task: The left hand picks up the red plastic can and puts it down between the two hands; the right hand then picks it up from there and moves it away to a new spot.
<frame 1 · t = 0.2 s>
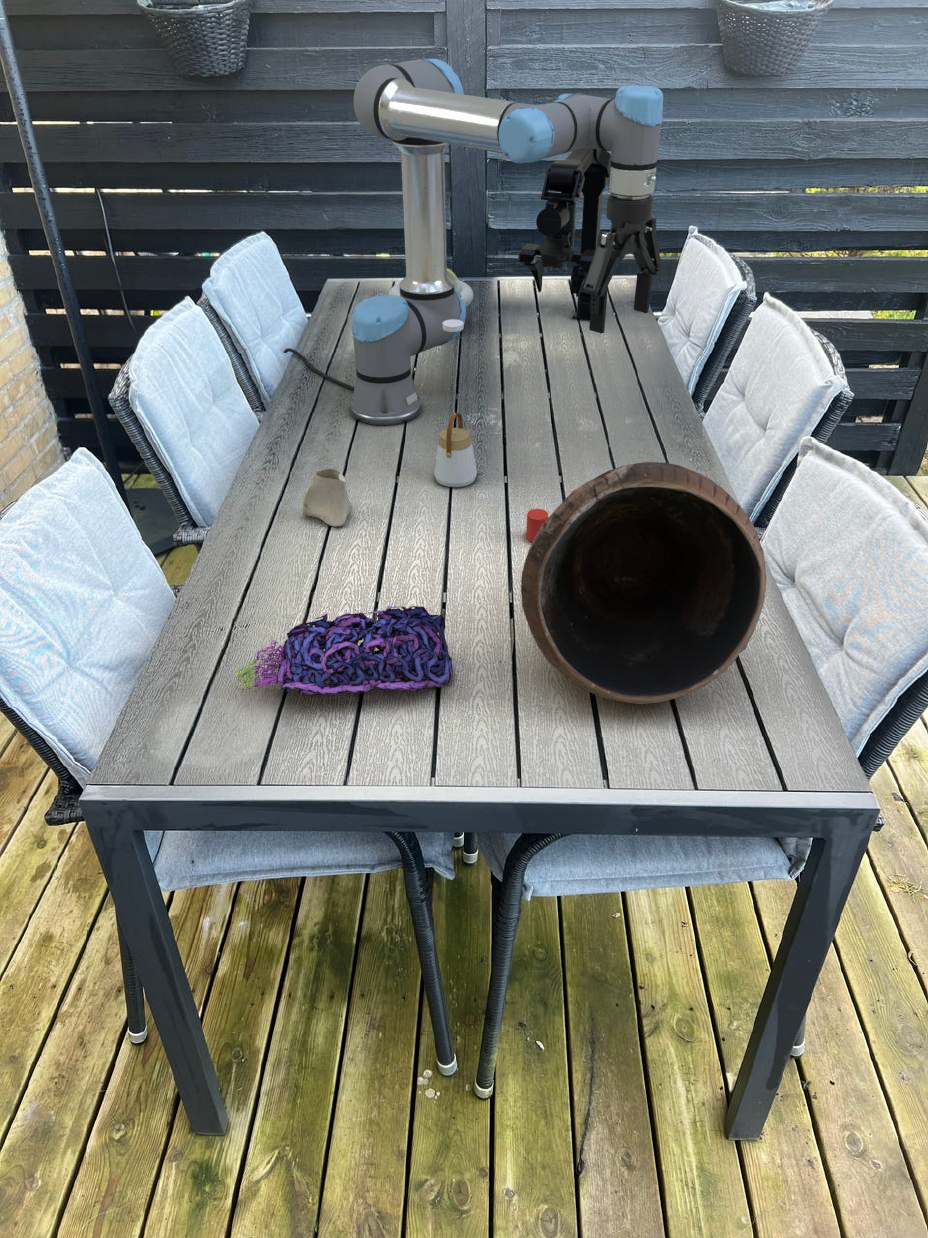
left hand: (619, 321, 167), 28 cm above the table, tool pointing down, fingers open, 13 cm apart
right hand: (558, 293, 219), 15 cm above the table, tool pointing down, fingers open, 9 cm apart
pendant light: (455, 478, 178), on the table
decorative ornament: (347, 685, 131), on the table
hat: (431, 325, 244), on the table
pot: (629, 645, 138), on the table
bone: (327, 519, 167), on the table
can: (536, 537, 161), on the table
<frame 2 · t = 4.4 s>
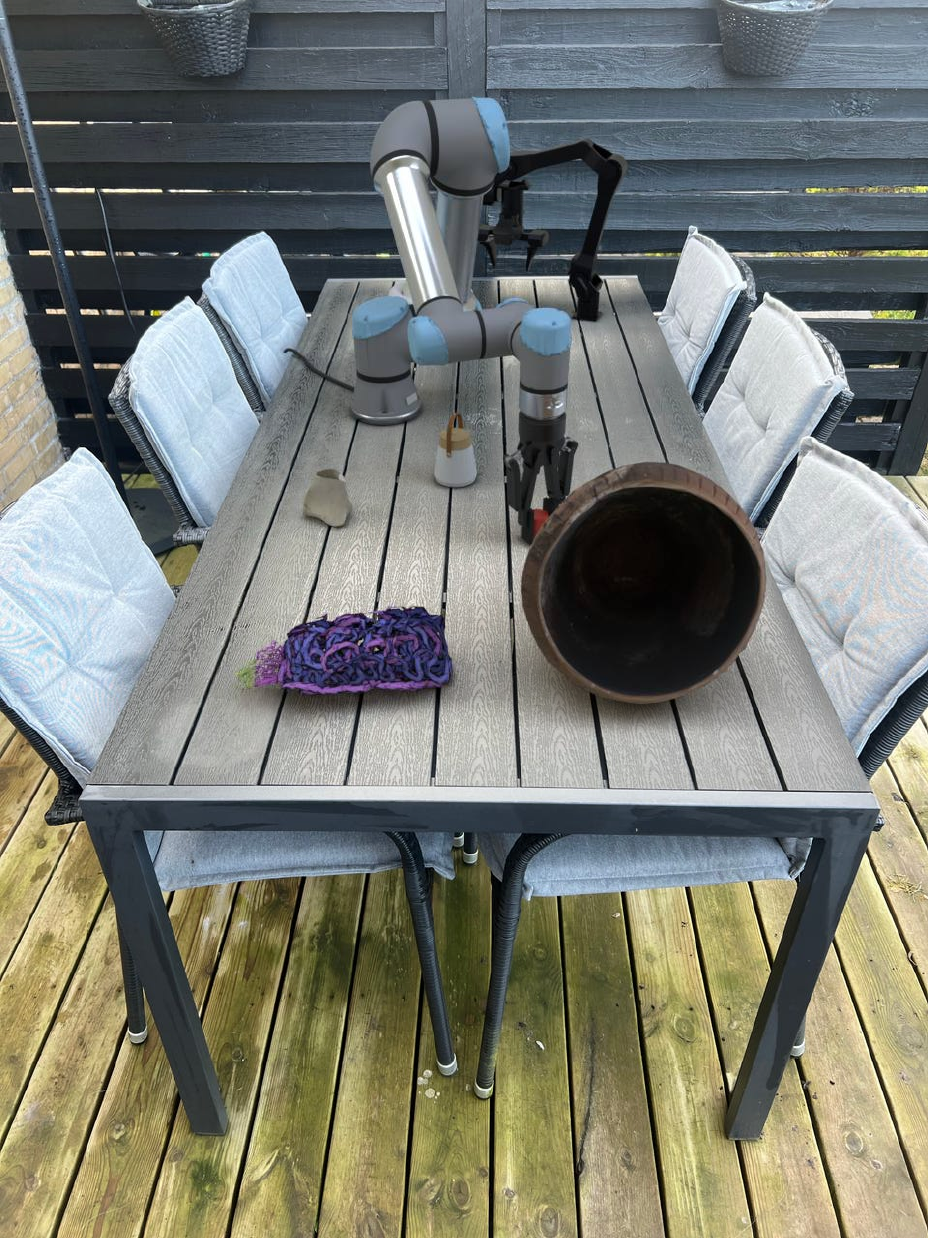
left hand: (537, 536, 161), 0 cm above the table, tool pointing down, fingers closed on can, 4 cm apart
right hand: (510, 269, 247), 10 cm above the table, tool pointing down, fingers open, 9 cm apart
can: (536, 537, 161), on the table, touching left hand
everything else where it was.
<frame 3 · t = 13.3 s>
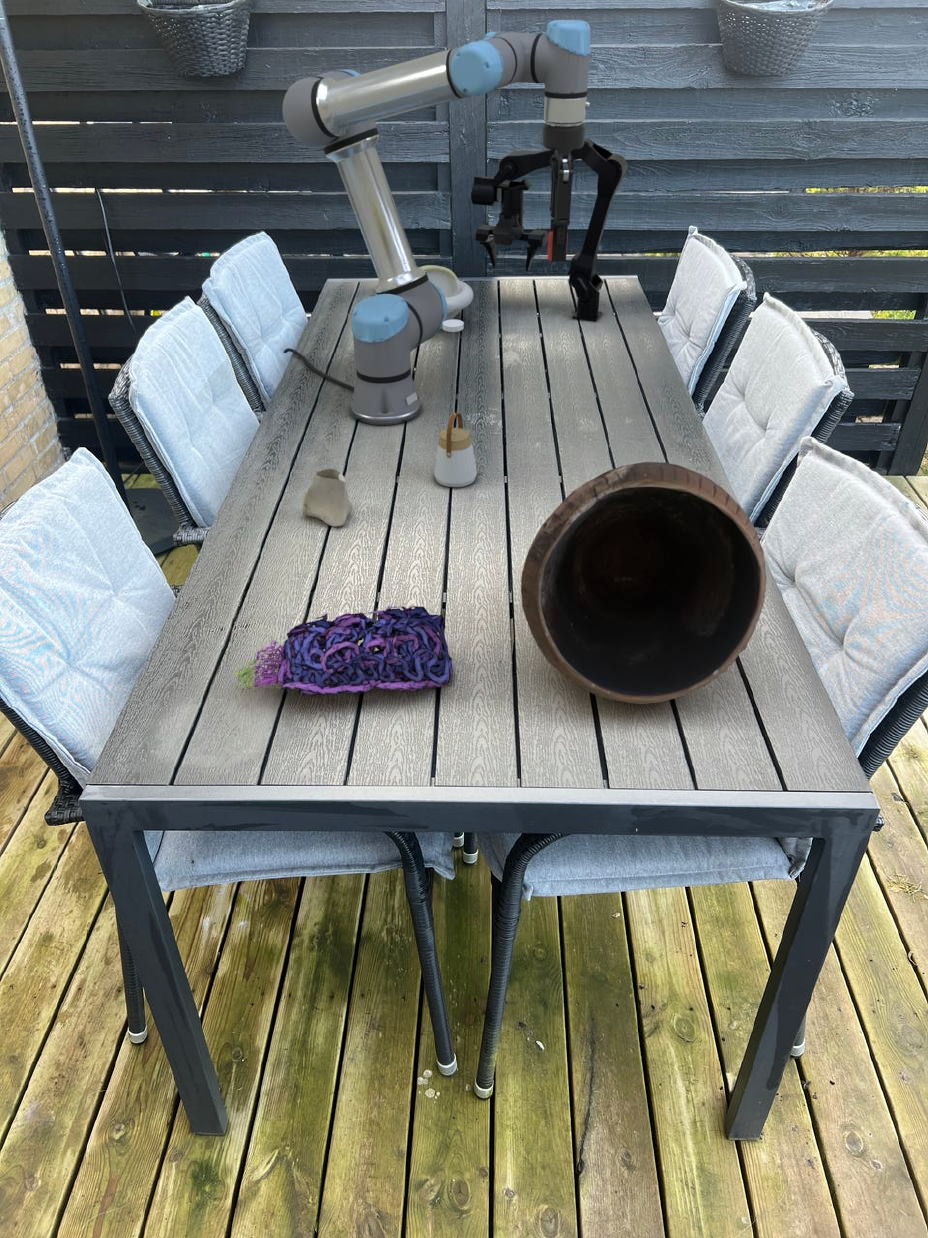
left hand: (557, 257, 181), 33 cm above the table, tool pointing down, fingers closed on can, 4 cm apart
right hand: (510, 269, 247), 10 cm above the table, tool pointing down, fingers open, 9 cm apart
can: (556, 258, 181), point 33 cm above the table, touching left hand
everything else where it was.
when the left hand's fingers open (1 cm above the table, at t = 22.7 s): can stays where it is, on the table.
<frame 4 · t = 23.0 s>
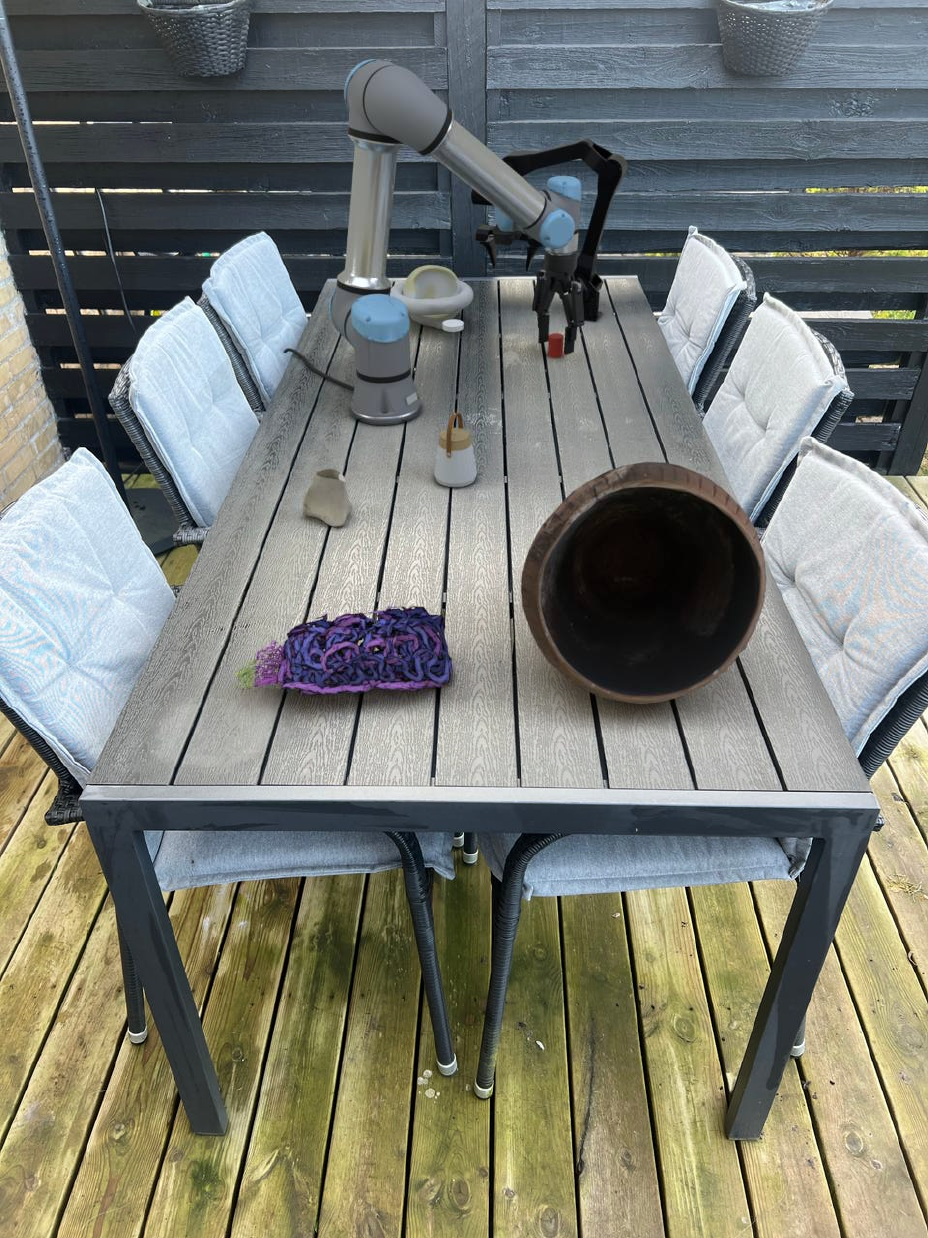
left hand: (555, 347, 226), 2 cm above the table, tool pointing down, fingers open, 8 cm apart
right hand: (510, 269, 247), 10 cm above the table, tool pointing down, fingers open, 9 cm apart
can: (555, 354, 227), on the table
everything else where it was.
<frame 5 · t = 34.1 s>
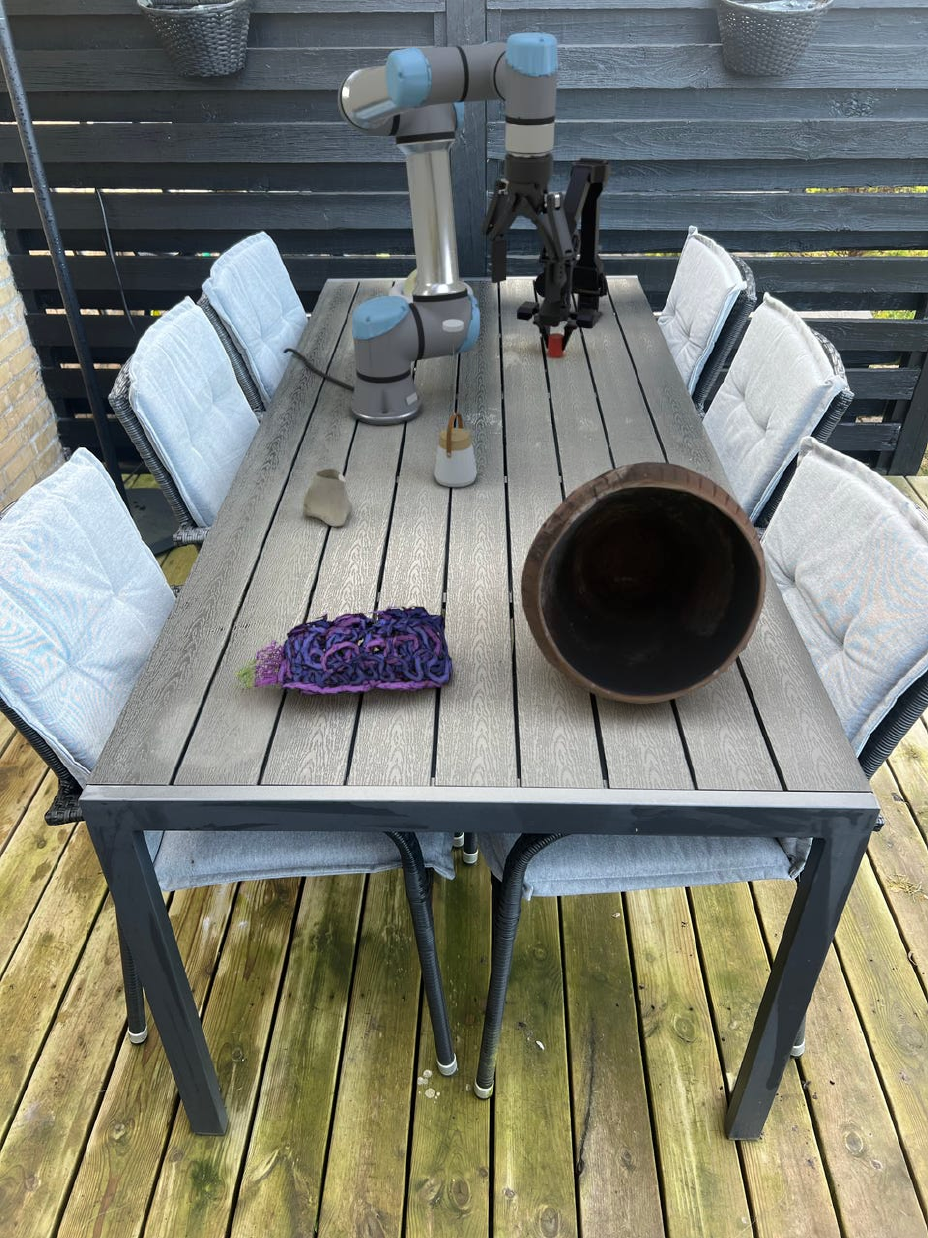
left hand: (524, 291, 156), 36 cm above the table, tool pointing down, fingers open, 13 cm apart
right hand: (555, 349, 226), 1 cm above the table, tool pointing down, fingers closed on can, 4 cm apart
can: (555, 354, 227), on the table, touching right hand
everything else where it was.
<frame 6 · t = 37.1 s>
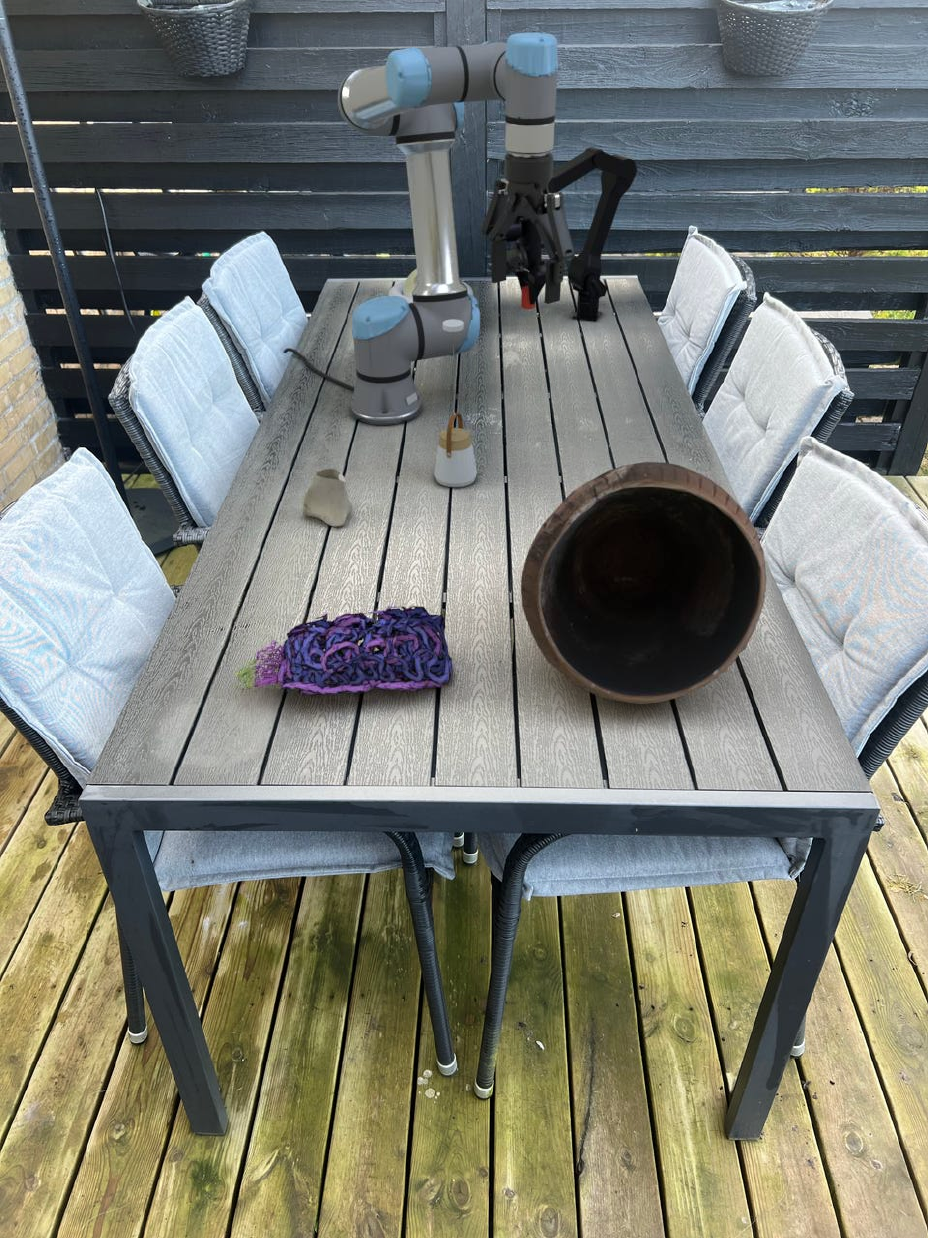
left hand: (524, 291, 156), 36 cm above the table, tool pointing down, fingers open, 13 cm apart
right hand: (528, 301, 237), 7 cm above the table, tool pointing down, fingers closed on can, 4 cm apart
can: (528, 306, 238), point 6 cm above the table, touching right hand
everything else where it was.
when the right hand's fingers open (2 cm above the table, at t = 40.2 s): can drops 1 cm, on the table.
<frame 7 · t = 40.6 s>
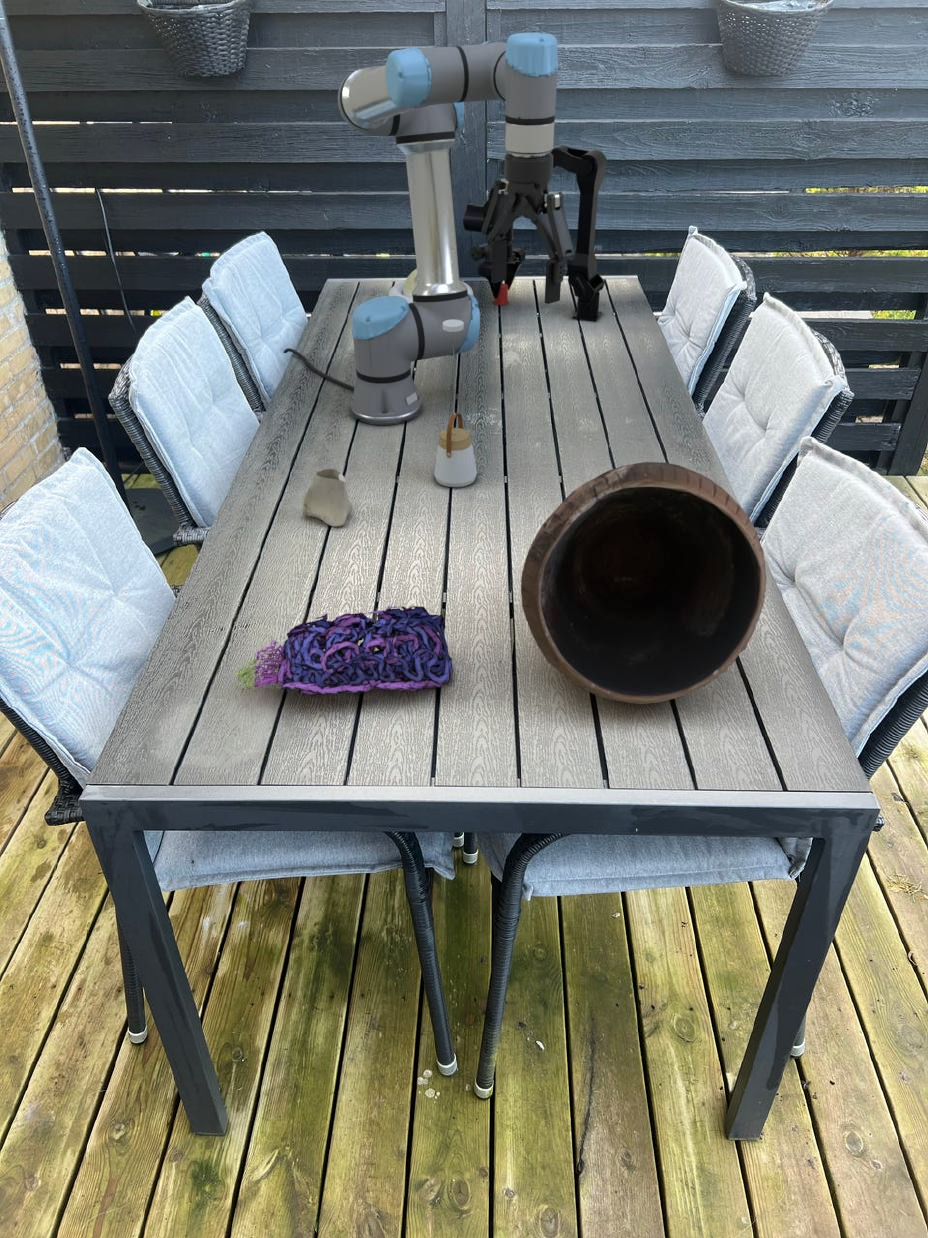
left hand: (524, 291, 156), 36 cm above the table, tool pointing down, fingers open, 13 cm apart
right hand: (501, 293, 256), 2 cm above the table, tool pointing down, fingers open, 7 cm apart
can: (500, 302, 257), on the table
everything else where it was.
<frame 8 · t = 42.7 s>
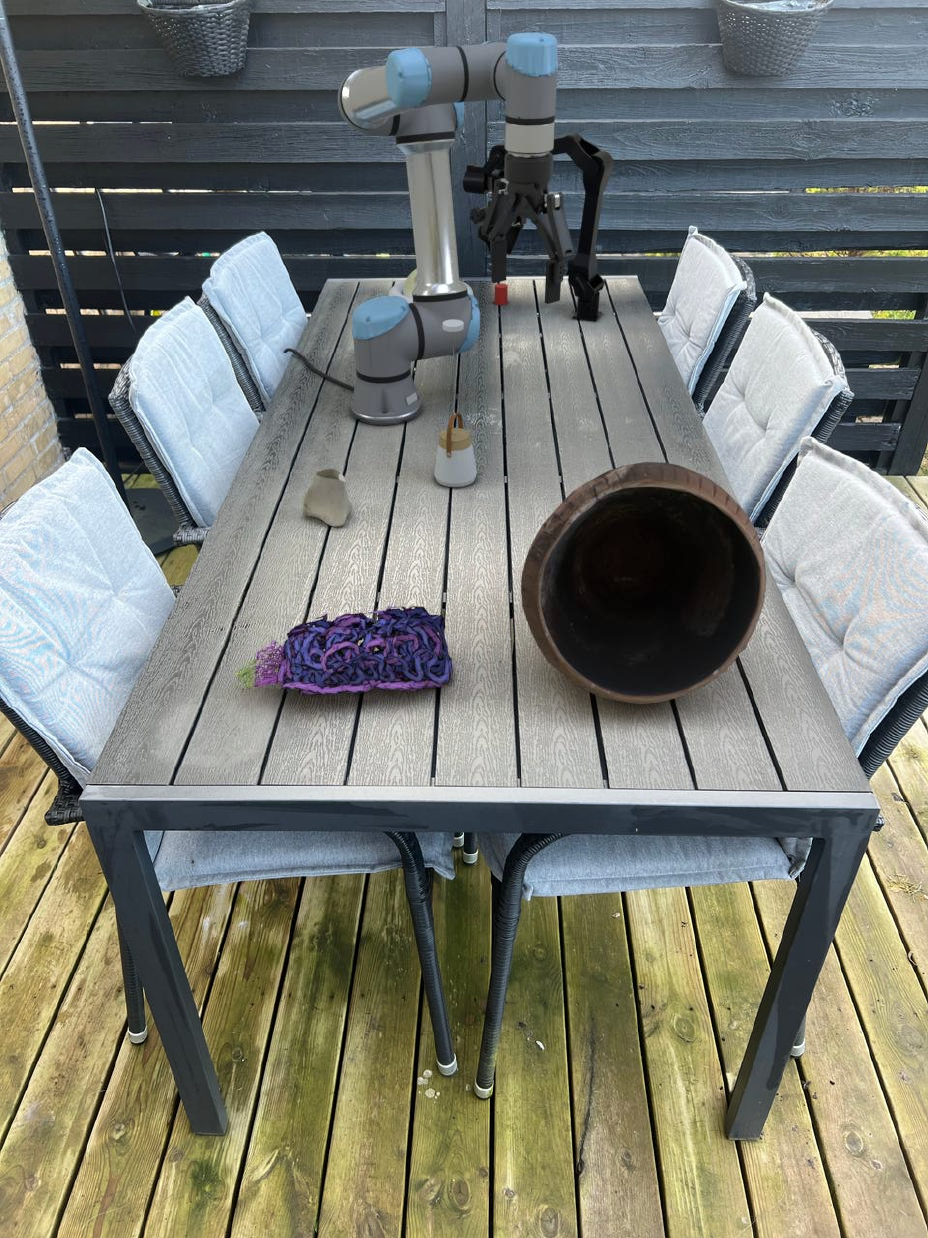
left hand: (524, 291, 156), 36 cm above the table, tool pointing down, fingers open, 13 cm apart
right hand: (501, 258, 250), 12 cm above the table, tool pointing down, fingers open, 9 cm apart
nothing on the table moved.
at the end: can inside the target area (0.1 cm from its centre), on the table; can tilted 0°; the two hands never held the can at the same time; the left hand is holding nothing; the right hand is holding nothing; can at rest at the end (0.0 cm/s) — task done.
